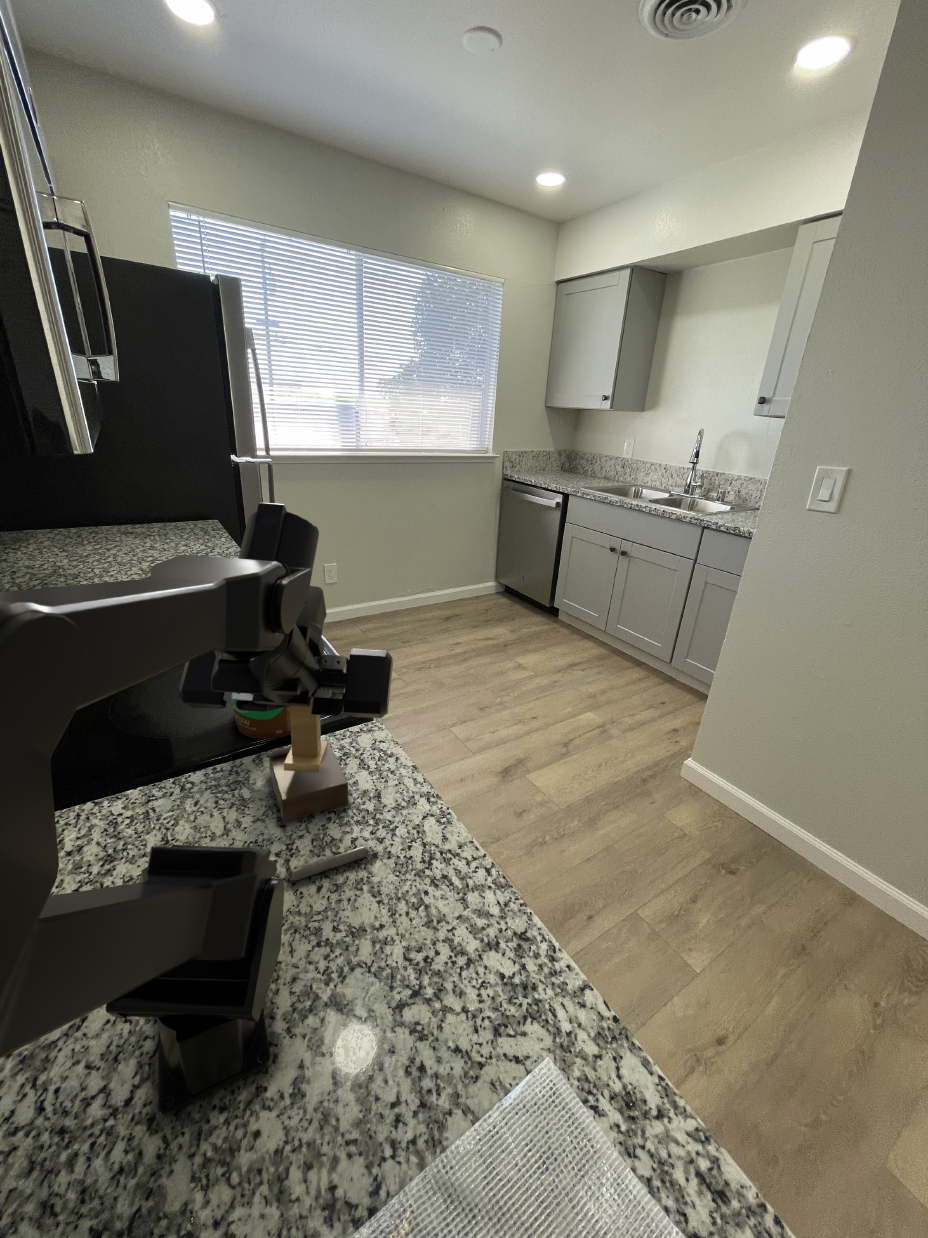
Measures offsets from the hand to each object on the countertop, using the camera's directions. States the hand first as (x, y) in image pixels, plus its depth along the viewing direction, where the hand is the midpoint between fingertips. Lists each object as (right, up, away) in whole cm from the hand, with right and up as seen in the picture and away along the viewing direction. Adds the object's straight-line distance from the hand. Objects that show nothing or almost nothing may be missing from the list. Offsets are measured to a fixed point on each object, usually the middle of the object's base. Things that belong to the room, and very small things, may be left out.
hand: (308, 700), depth 56 cm
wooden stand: (+1, -12, 0) cm, 12 cm away
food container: (-11, -6, +13) cm, 18 cm away
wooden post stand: (-1, -7, +1) cm, 7 cm away
